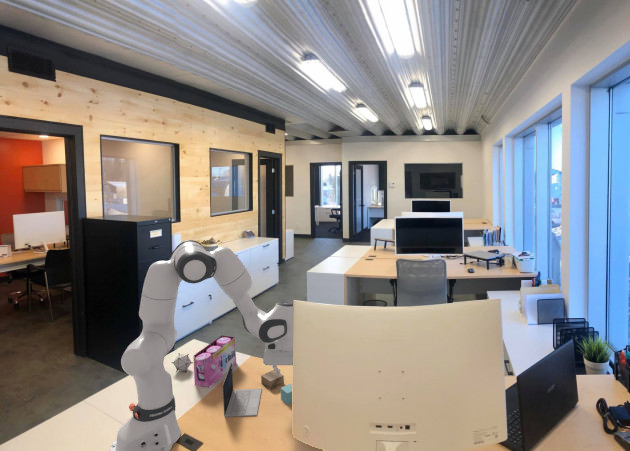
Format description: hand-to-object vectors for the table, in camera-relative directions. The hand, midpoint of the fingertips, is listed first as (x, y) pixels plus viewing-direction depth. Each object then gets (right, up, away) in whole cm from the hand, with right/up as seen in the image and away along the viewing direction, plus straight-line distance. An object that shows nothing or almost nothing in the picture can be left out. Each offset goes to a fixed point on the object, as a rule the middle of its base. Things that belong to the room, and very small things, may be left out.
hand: (289, 374), depth 153 cm
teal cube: (0, -11, +2) cm, 11 cm away
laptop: (-18, -12, +1) cm, 22 cm away
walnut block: (-8, -10, +14) cm, 19 cm away
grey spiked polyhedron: (-52, -9, +27) cm, 60 cm away
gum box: (-35, -9, +24) cm, 44 cm away
